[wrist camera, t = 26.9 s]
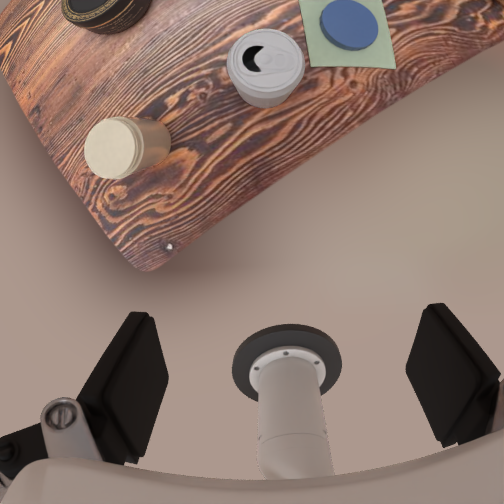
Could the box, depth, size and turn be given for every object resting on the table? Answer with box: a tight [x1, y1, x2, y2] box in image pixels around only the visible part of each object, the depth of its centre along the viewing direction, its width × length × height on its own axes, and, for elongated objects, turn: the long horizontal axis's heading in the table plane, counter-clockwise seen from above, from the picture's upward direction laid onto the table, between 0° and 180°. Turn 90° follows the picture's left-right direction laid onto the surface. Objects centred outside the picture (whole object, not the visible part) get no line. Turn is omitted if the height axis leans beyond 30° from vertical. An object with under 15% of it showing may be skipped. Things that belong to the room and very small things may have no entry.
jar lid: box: [319, 0, 378, 51], centre depth 26 cm, size 7×7×2 cm
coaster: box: [298, 0, 396, 69], centre depth 27 cm, size 11×11×1 cm
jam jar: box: [84, 116, 171, 179], centre depth 29 cm, size 6×6×10 cm
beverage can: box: [227, 29, 305, 108], centre depth 25 cm, size 6×6×12 cm
